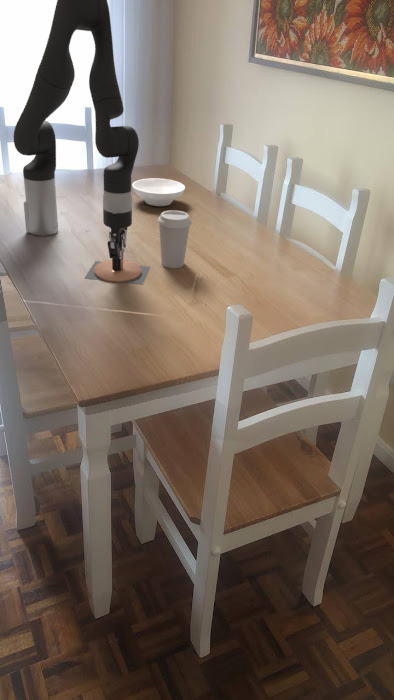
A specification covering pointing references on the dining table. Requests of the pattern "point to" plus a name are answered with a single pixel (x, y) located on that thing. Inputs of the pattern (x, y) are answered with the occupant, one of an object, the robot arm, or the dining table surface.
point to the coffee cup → (173, 237)
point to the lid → (125, 274)
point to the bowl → (158, 190)
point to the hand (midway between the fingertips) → (117, 267)
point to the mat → (136, 281)
